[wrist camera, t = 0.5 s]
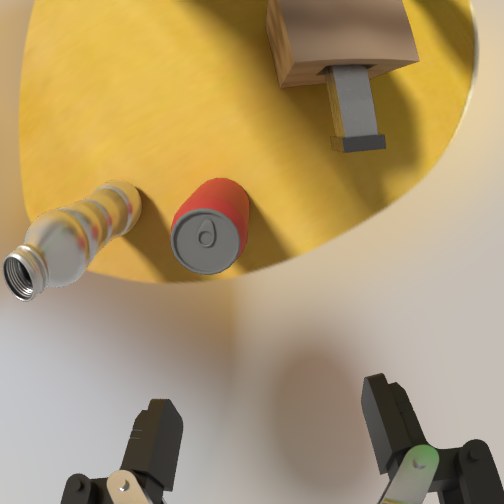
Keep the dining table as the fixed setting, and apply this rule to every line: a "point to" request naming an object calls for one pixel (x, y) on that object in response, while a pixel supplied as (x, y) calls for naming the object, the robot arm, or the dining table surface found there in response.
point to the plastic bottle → (70, 239)
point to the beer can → (211, 227)
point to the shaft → (352, 109)
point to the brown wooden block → (337, 37)
